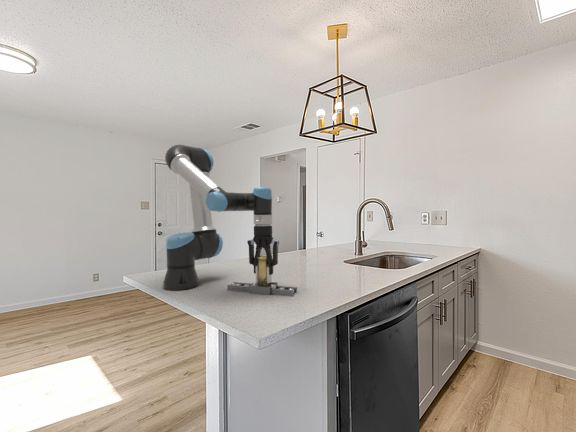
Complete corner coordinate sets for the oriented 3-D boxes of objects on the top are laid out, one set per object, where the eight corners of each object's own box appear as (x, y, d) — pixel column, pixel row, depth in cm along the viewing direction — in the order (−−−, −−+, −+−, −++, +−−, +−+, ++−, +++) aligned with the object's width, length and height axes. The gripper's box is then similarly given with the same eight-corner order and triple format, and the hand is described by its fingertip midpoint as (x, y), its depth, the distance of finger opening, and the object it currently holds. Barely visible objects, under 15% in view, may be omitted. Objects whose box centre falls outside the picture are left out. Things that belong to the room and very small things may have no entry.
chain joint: (225, 290, 127) (225, 283, 127) (235, 285, 135) (235, 279, 135) (291, 297, 118) (291, 289, 117) (298, 291, 125) (298, 284, 125)
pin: (255, 288, 125) (255, 256, 124) (260, 285, 129) (260, 255, 129) (266, 289, 123) (266, 257, 122) (271, 286, 127) (271, 255, 127)
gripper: (239, 225, 125) (240, 282, 125) (279, 226, 119) (279, 285, 119) (248, 224, 132) (248, 278, 133) (286, 224, 126) (286, 281, 127)
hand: (263, 281), depth 126 cm, fingers closed on pin, 4 cm apart
